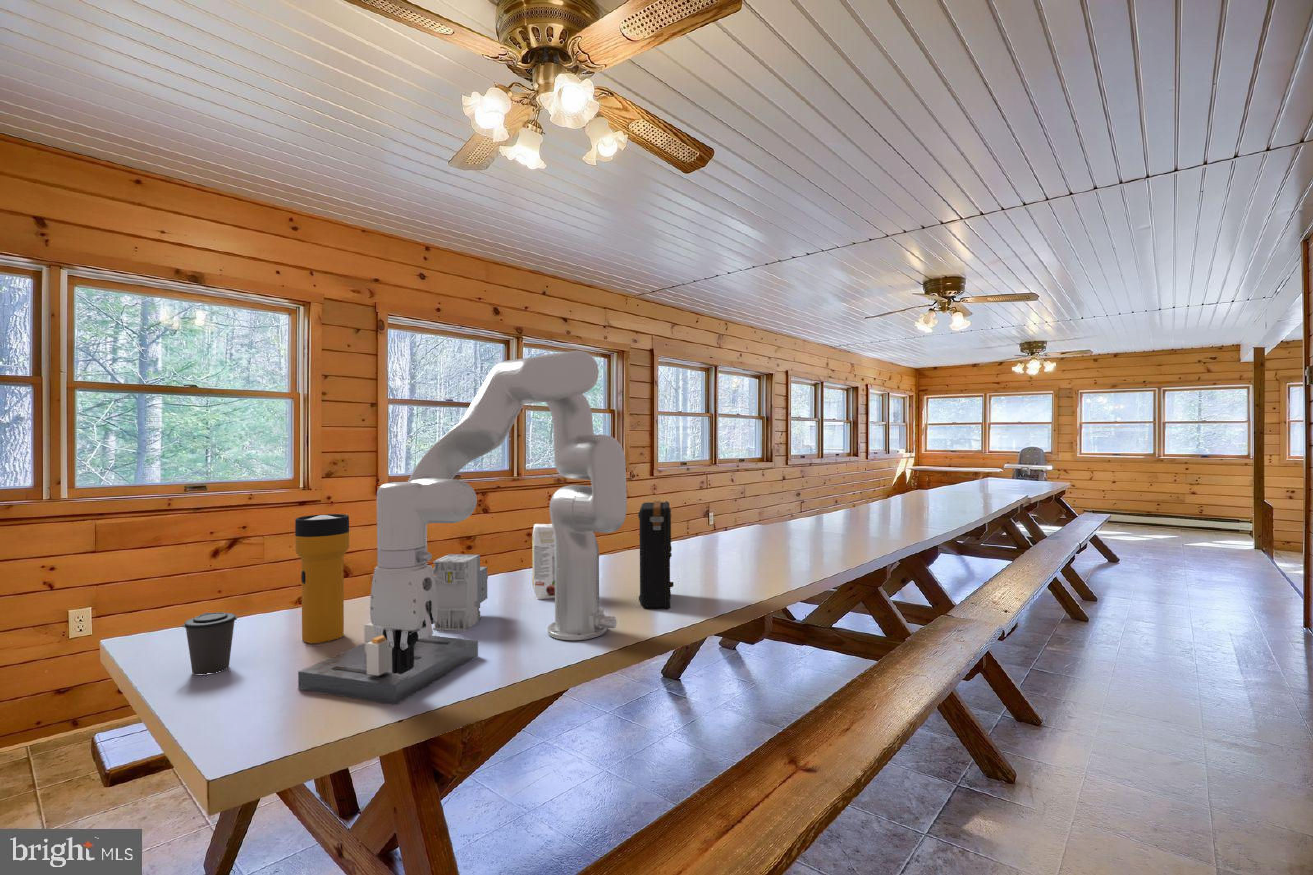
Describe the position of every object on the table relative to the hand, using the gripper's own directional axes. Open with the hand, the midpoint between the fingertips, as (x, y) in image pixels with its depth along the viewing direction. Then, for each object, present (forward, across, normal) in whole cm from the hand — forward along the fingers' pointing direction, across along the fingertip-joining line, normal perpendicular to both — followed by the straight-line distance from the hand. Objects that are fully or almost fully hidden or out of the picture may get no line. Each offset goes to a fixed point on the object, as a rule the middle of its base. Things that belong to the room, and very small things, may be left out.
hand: (403, 670), depth 99 cm
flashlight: (+4, +37, -19) cm, 42 cm away
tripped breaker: (+1, +5, 0) cm, 5 cm away
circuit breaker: (+4, +16, -38) cm, 41 cm away
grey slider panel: (+4, +9, -8) cm, 13 cm away
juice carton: (+4, +6, -63) cm, 64 cm away
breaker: (+1, +13, -8) cm, 15 cm away
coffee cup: (+4, +42, +1) cm, 42 cm away
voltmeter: (+4, -23, -66) cm, 70 cm away
